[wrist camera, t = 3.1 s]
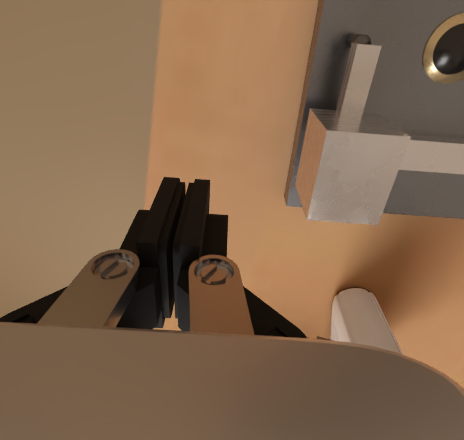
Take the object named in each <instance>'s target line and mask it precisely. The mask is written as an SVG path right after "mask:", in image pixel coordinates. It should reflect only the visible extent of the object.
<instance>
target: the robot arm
mask: <svg viewBox="0 0 464 440" xmlns="http://www.w3.org/2000/svg"><path fill="white" fill-rule="evenodd" d="M209 199H210V180H201V179H195V182H194V183H189V185H188V189H187V192H186V196H185V182H180V179H179V178H170V177H164V178H163V180H162V183H161V185H160V187H159V190H158V192H157V194H156V197H155V199H154V201H153V204H152V206H151V208H150V210H139V211H138V212H137V214H136V216H135V219H134V220H133V222H132V224H131V226H130V229H129V231H128V233H127V235H126V237H125V239H124V241H123V243H122V245H121V247H120V249H114V250H108V251H105V252H102V253H99V254H98V255H96V256H94V257H93V258H92V259H91V260H90V261H89V262H88V263H87V264H86V265H85V266H84V268H83V269H82V270H81V271H80V272H79V274H78V275H77V276H76V277H75V279H74V280H73V281H72V282H71V283H70V284H69V286H67V287H65V288H63V289H61V290H59V291H56V292H54V293H52V294H50V295H48V296H46V297H43V298H41V299H39V300H37V301H35V302H33V303H30V304H28V305H26V306H24V307H21V308H20V309H17V310H15V311H13V312H11V313H8V314H7V315H5V316H3V317H2V318H0V440H464V388H463V387H461V386H460V385H459V384H458V383H457V382H455V381H454V380H453V379H451V378H450V377H449V376H447V375H446V374H444V373H442V372H440V371H439V370H437V369H435V368H433V367H431V366H429V365H427V364H425V363H423V362H420V361H418V360H415V359H413V358H410V357H407V356H405V355H402V354H399V353H396V352H393V351H389V350H385V349H381V348H377V347H374V346H368V345H362V344H357V343H351V342H341V341H334V340H330V339H326V338H322V337H318V336H317V337H316V339H309V338H306V336H305V334H304V333H303V332H302V331H301V330H300V329H299V328H297V327H296V326H295V325H293V324H292V323H291V322H290V321H288V320H287V319H286V318H284V317H283V316H282V315H280V314H279V313H278V312H276V311H275V310H274V309H272V308H271V307H270V306H269V305H267V304H266V303H265V302H263V301H262V300H261V299H259V298H258V297H257V296H255V295H254V294H253V293H251V292H250V291H249V290H248V289H246V288H245V287H244V286H243V284H242V280H241V275H240V271H239V268H238V266H237V264H236V263H235V262H233V261H232V260H231V259H229V258H227V232H228V215H217V214H209ZM174 301H175V318H178V327H179V328H180V329H181V330H182V331H174V330H155V329H153V328H163V325H164V321H165V318H171V315H172V311H173V306H174Z"/></svg>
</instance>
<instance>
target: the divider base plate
mask: <svg viewBox="0 0 464 440" xmlns="http://www.w3.org/2000/svg"><path fill="white" fill-rule="evenodd" d="M353 34H364V35H368V36H369V37H370V39H371V44H374V45H379V46H382V47H381V50H380V54H379V57H378V61H377V64H376V68H375V72H374V75H373V79H372V82H371V86H370V89H369V93H368V96H367V100H366V104H365V107H364V111H363V112H366V113H378V114H379V115H380V116H382V117H383V118H385V119H386V120H388V121H389V122H390V123H392V124H393V125H395V126H396V127H398V128H399V129H400V130H402V131H403V132H405V133H406V134H408V135H409V136H411V138H410V141H409V144H408V146H407V149H406V152H405V154H404V157H403V160H402V162H401V165H400V168H399V170H398V173H397V176H396V178H395V181H394V184H393V186H392V189H391V192H390V194H389V197H388V200H387V202H386V205H385V208H384V210H383V213H390V214H404V215H418V216H432V217H446V218H460V219H464V0H319V3H318V8H317V14H316V20H315V25H314V31H313V37H312V42H311V48H310V54H309V59H308V65H307V71H306V76H305V82H304V88H303V93H302V99H301V105H300V110H299V116H298V122H297V127H296V133H295V138H294V144H293V150H292V155H291V161H290V167H289V172H288V178H287V184H286V189H285V195H284V198H285V202H286V206H292V207H302V204H301V201H300V198H299V195H298V192H297V189H296V186H295V183H296V178H297V173H298V168H299V163H300V157H301V152H302V147H303V142H304V137H305V132H306V126H307V121H308V116H309V111H310V108H313V109H326V110H336V107H337V103H338V98H339V94H340V90H341V86H342V81H343V77H344V73H345V69H346V65H347V60H348V56H349V52H350V48H349V47H348V39H349V38H350V36H351V35H353Z"/></svg>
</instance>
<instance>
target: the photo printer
mask: <svg viewBox="0 0 464 440" xmlns="http://www.w3.org/2000/svg"><path fill="white" fill-rule="evenodd" d="M330 340H334V341H341V342H351V343H357V344H362V345H368V346H374V347H377V348H381V349H385V350H389V351H393V352H396V353H399V354H402V355H403V353H402V351H401V349H400V347H399V345H398V343H397V341H396V339H395V336H394V335H393V332H392V330H391V328H390V326H389V324H388V322H387V320H386V318H385V316H384V314H383V312H382V309H381V307H380V305H379V303H378V301H377V299H376V297H375V296H374V294H373V293H372V292H368V291H367V290H365V289H361V288H351V289H346V290H343V291H341V292H340V293H339V294H338V295H335V297H334V300H333V305H332V316H331V338H330Z"/></svg>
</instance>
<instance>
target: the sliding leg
mask: <svg viewBox="0 0 464 440" xmlns="http://www.w3.org/2000/svg"><path fill="white" fill-rule="evenodd" d="M348 47H349V48H350V52H349V56H348V60H347V65H346V69H345V73H344V77H343V81H342V86H341V90H340V94H339V98H338V103H337V107H336V110H326V109H313V108H310V111H309V116H308V121H307V126H306V132H305V137H304V142H303V147H302V152H301V157H300V163H299V168H298V173H297V178H296V183H295V186H296V189H297V192H298V195H299V198H300V201H301V204H302V207H303V211H304V214H305V217H306V220H314V221H328V222H342V223H356V224H370V225H378V224H379V221H380V218H381V216H382V213H383V210H384V208H385V205H386V202H387V200H388V197H389V194H390V192H391V189H392V186H393V184H394V181H395V178H396V176H397V173H398V170H399V168H400V165H401V162H402V160H403V157H404V154H405V152H406V149H407V146H408V144H409V141H410V138H411V136H409V135H408V134H406V133H405V132H403V131H402V130H400V129H399V128H398V127H396V126H395V125H393V124H392V123H390V122H389V121H388V120H386V119H385V118H383V117H382V116H380V115H379V114H378V113H366V112H363V111H364V107H365V104H366V100H367V96H368V93H369V89H370V86H371V82H372V79H373V75H374V72H375V68H376V64H377V61H378V57H379V54H380V50H381V47H382V46H379V45H374V44H371V39H370V37H369V36H368V35H364V34H353V35H351V36H350V38H349V39H348Z"/></svg>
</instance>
